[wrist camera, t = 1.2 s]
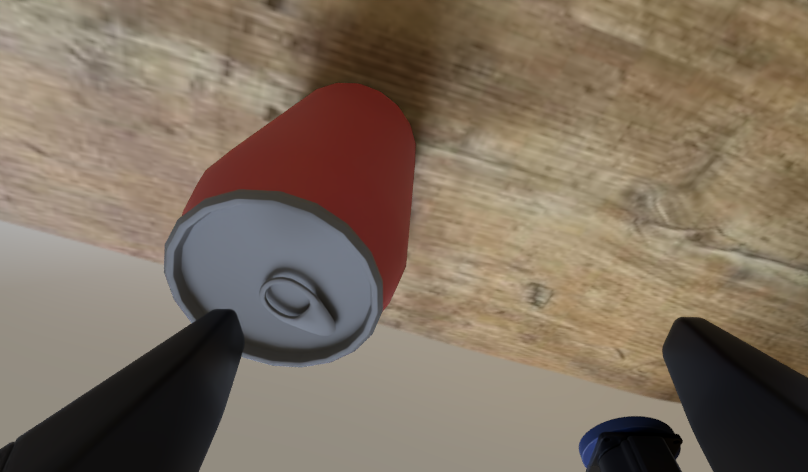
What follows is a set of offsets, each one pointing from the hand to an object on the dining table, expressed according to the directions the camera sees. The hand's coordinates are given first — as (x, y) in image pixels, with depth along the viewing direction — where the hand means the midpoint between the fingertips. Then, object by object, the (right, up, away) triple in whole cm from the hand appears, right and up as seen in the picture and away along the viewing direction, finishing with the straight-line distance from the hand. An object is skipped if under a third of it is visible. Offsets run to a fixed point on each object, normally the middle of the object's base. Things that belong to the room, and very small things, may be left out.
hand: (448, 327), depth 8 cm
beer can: (-4, +7, +12) cm, 14 cm away
